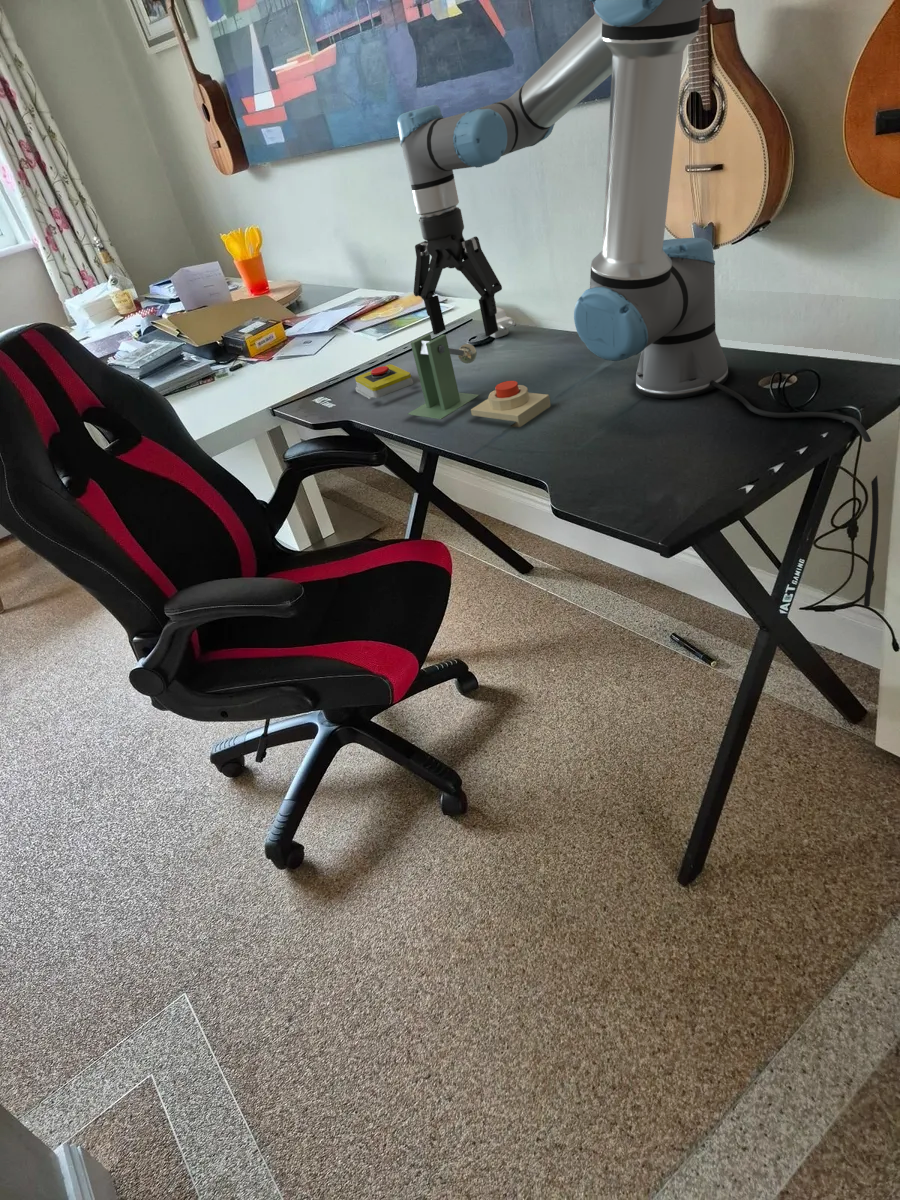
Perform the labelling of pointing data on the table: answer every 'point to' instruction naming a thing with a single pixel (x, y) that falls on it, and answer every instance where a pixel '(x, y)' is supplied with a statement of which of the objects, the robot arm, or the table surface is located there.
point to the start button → (507, 389)
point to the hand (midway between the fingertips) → (465, 332)
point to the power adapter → (502, 323)
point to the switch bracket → (437, 379)
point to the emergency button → (382, 381)
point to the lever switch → (456, 352)
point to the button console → (513, 406)
